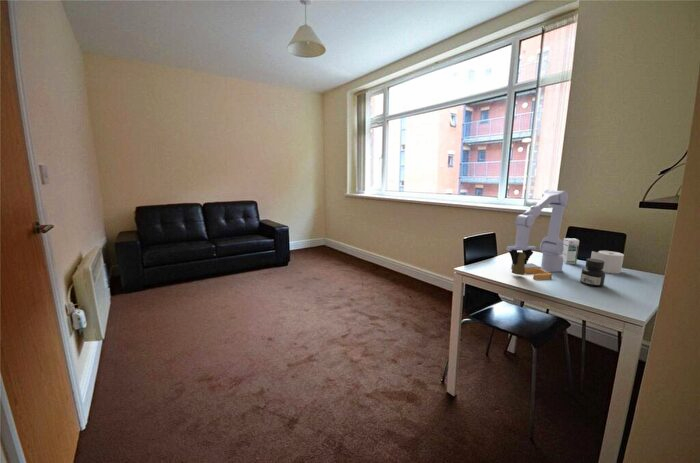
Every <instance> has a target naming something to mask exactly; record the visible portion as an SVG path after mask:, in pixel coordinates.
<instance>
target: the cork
mask: <svg viewBox="0 0 700 463" xmlns="http://www.w3.org/2000/svg"><path fill="white" fill-rule="evenodd" d="M517 252H518V253H519V255H518V258H517V263H516V265H513V269H511V274H514V275H517V276H523V275H526V274H525V260H524V259H525V258H526V254H525V253H523V252H522V251H517Z"/></svg>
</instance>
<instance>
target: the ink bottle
mask: <svg viewBox="0 0 700 463" xmlns="http://www.w3.org/2000/svg"><path fill="white" fill-rule="evenodd" d="M604 263H605V261H603V260H599V259H592V258H591V257H590V258H586V261H585V267H583V268H582V269H581V273H580V280H579V282H580V283H581V284H583V285H585V286H589V287H594V288H595V287H596V288H601V287H604V283H605V279H606V272H604V271H603V270H602V269H604Z"/></svg>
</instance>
